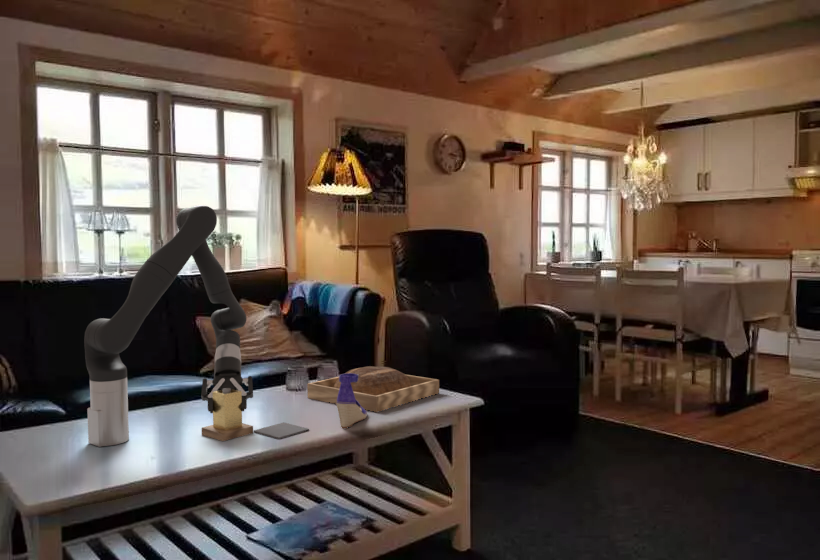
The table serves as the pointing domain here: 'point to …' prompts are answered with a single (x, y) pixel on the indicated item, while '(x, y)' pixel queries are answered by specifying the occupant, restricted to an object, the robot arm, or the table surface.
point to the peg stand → (228, 434)
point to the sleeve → (227, 410)
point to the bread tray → (416, 391)
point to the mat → (280, 430)
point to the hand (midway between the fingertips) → (227, 410)
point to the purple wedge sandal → (348, 402)
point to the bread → (377, 380)
